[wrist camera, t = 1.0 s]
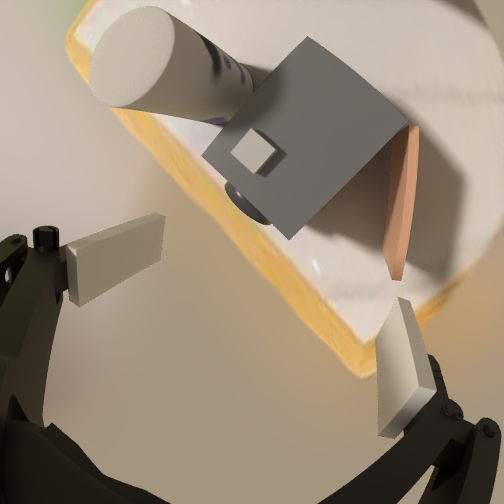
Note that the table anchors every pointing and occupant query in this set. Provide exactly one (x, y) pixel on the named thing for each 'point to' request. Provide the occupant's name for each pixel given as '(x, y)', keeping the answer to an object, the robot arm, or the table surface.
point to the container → (166, 69)
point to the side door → (401, 199)
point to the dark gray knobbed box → (301, 138)
